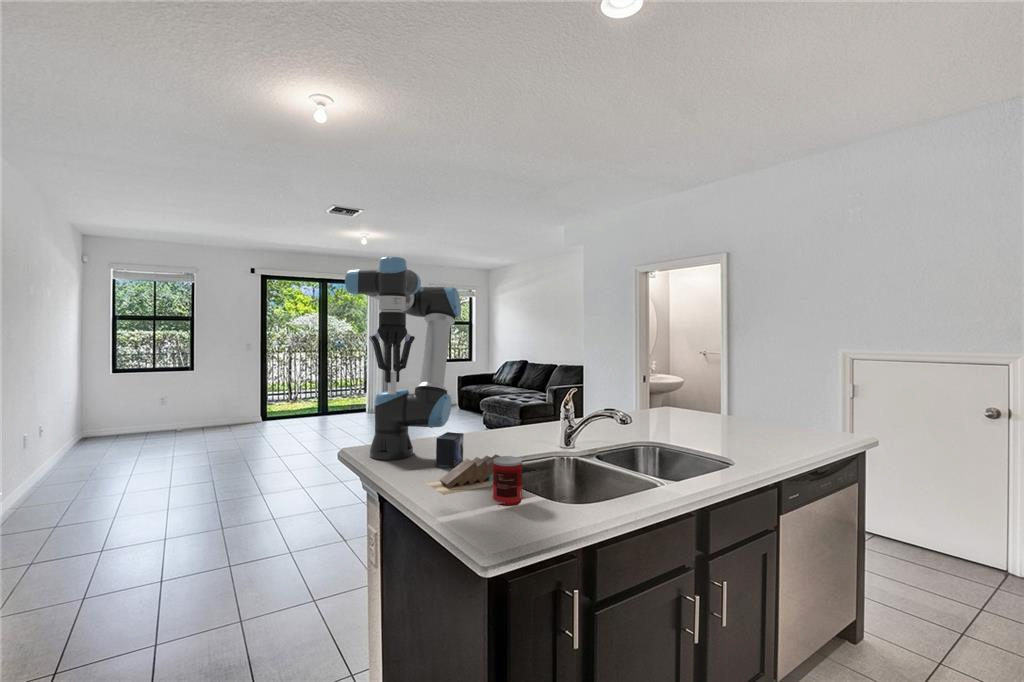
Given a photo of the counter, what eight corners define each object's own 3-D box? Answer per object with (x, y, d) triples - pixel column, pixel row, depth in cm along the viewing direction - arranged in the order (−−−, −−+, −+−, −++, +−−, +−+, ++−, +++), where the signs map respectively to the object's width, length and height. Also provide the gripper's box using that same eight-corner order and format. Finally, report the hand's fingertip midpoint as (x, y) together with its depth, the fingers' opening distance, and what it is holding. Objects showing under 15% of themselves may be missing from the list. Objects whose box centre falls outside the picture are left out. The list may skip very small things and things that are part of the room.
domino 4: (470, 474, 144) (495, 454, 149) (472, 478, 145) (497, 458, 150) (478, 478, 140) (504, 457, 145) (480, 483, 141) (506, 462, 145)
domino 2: (449, 477, 141) (476, 456, 146) (452, 482, 141) (479, 461, 146) (457, 482, 137) (485, 460, 141) (460, 486, 137) (487, 465, 142)
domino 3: (460, 475, 143) (486, 455, 147) (462, 480, 143) (488, 459, 148) (468, 480, 138) (494, 459, 143) (470, 484, 139) (497, 463, 144)
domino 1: (439, 479, 139) (466, 458, 144) (441, 483, 139) (469, 462, 144) (447, 484, 135) (475, 462, 140) (449, 488, 135) (477, 466, 140)
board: (425, 486, 140) (425, 482, 140) (477, 477, 150) (477, 473, 150) (443, 498, 130) (443, 494, 130) (498, 487, 140) (498, 484, 140)
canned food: (511, 494, 134) (511, 454, 134) (528, 503, 127) (528, 461, 127) (487, 499, 130) (487, 458, 130) (502, 508, 123) (503, 465, 123)
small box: (454, 472, 155) (454, 439, 155) (434, 470, 157) (435, 438, 157) (464, 463, 166) (464, 432, 166) (445, 462, 167) (446, 431, 167)
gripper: (374, 310, 134) (373, 396, 134) (419, 311, 141) (418, 393, 141) (365, 311, 140) (365, 393, 140) (409, 312, 147) (408, 391, 147)
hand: (392, 393), depth 141 cm, fingers closed
